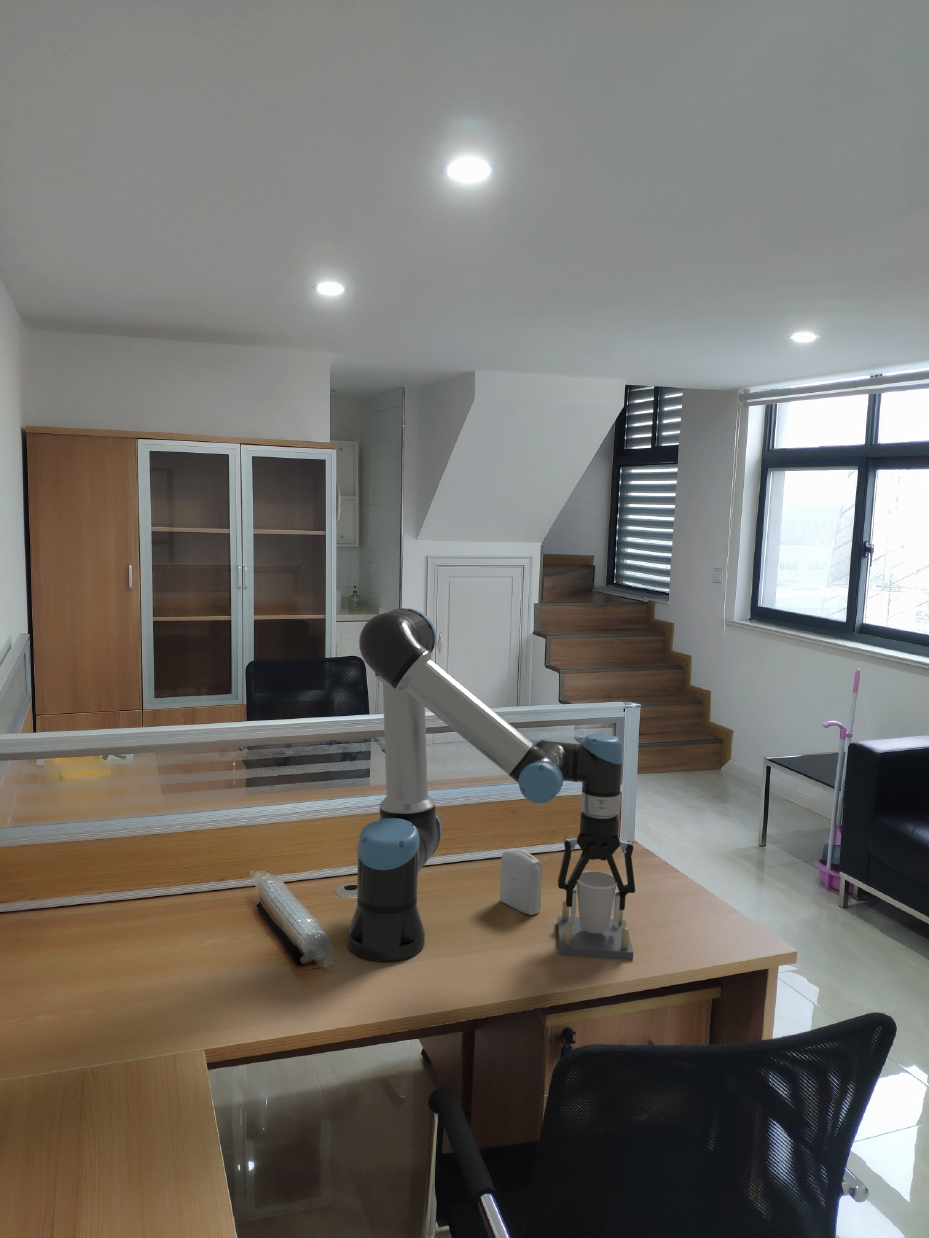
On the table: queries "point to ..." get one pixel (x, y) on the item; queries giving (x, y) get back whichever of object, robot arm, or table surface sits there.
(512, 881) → the photo printer
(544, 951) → the table surface
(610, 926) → the plate
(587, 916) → the dixie cup
